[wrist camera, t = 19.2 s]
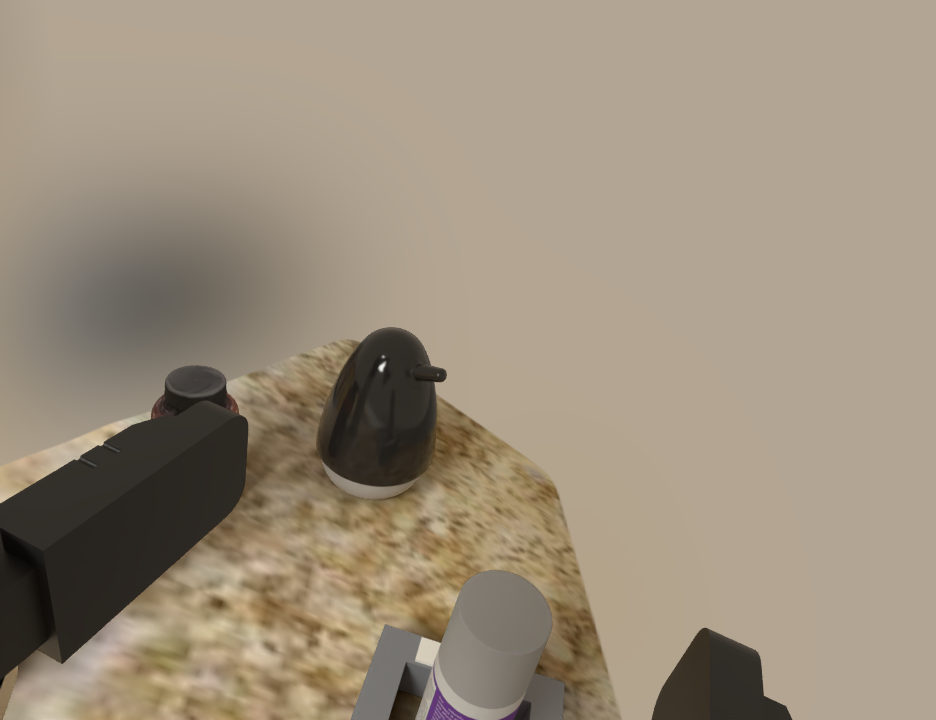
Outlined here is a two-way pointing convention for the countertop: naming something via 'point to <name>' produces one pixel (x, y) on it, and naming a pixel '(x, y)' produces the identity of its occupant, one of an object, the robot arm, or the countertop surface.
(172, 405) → the supplement bottle
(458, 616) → the container
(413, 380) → the pump dispenser
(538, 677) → the socket board
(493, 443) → the countertop surface
